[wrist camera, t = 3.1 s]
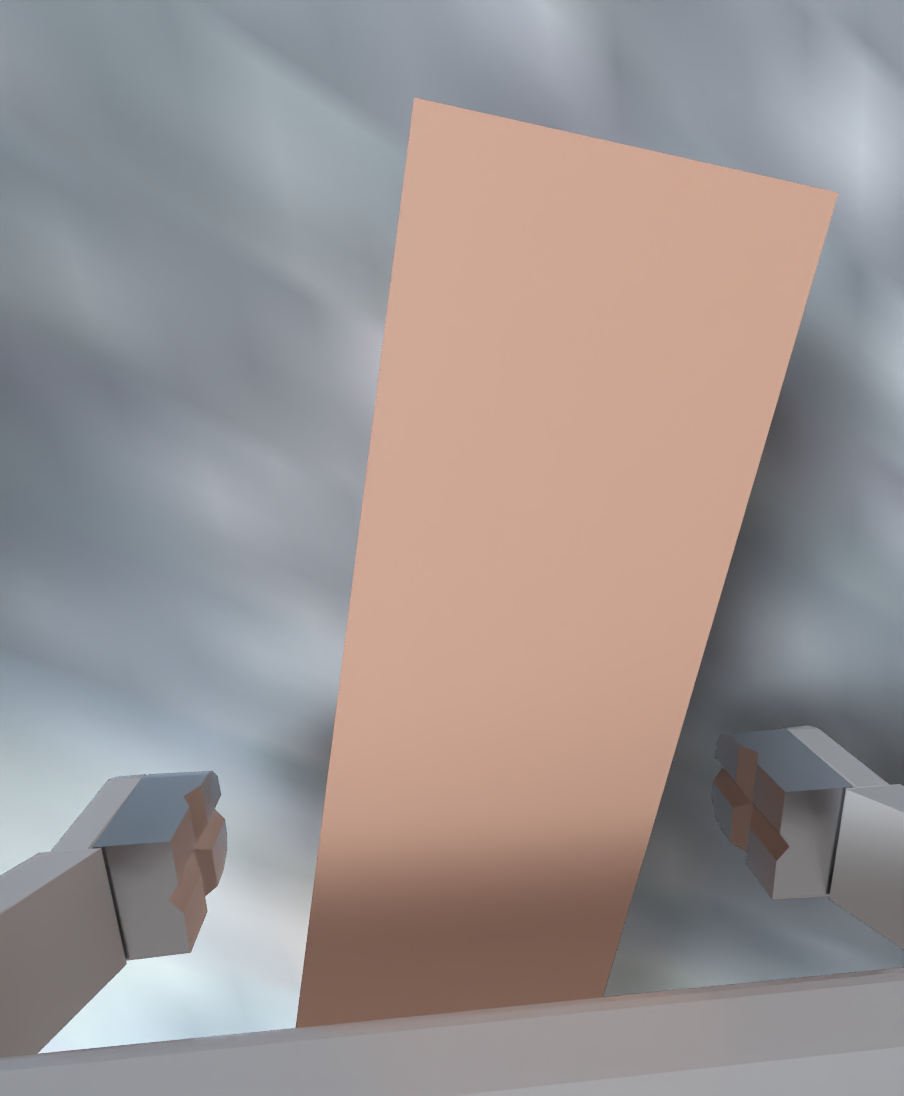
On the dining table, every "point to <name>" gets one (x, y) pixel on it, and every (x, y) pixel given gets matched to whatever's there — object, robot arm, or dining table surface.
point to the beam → (539, 550)
